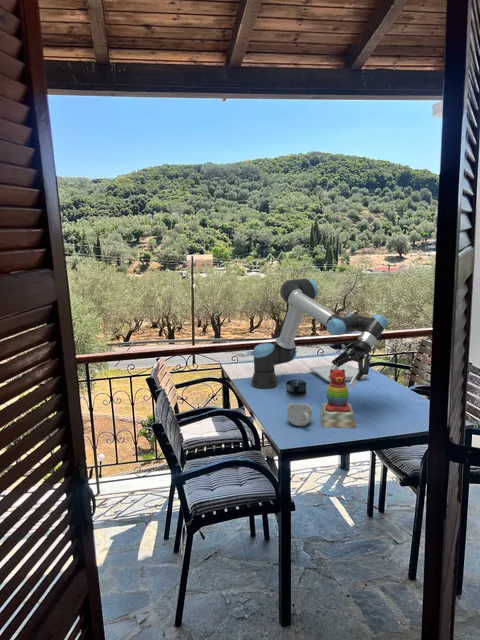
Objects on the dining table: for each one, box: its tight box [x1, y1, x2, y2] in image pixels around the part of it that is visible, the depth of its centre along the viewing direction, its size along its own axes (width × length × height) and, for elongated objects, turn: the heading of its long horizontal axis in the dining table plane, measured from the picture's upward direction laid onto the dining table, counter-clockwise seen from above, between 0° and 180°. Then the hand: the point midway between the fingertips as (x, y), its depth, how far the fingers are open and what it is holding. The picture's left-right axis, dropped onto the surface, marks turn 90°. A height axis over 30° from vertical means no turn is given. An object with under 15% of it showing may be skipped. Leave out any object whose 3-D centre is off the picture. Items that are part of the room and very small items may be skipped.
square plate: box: [308, 363, 370, 383], centre depth 259 cm, size 27×27×4 cm
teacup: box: [286, 402, 313, 427], centre depth 188 cm, size 14×11×8 cm
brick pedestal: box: [320, 402, 356, 429], centre depth 192 cm, size 14×14×6 cm
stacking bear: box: [325, 369, 350, 412], centre depth 190 cm, size 11×10×18 cm
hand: (339, 381), depth 189 cm, fingers open, 13 cm apart
